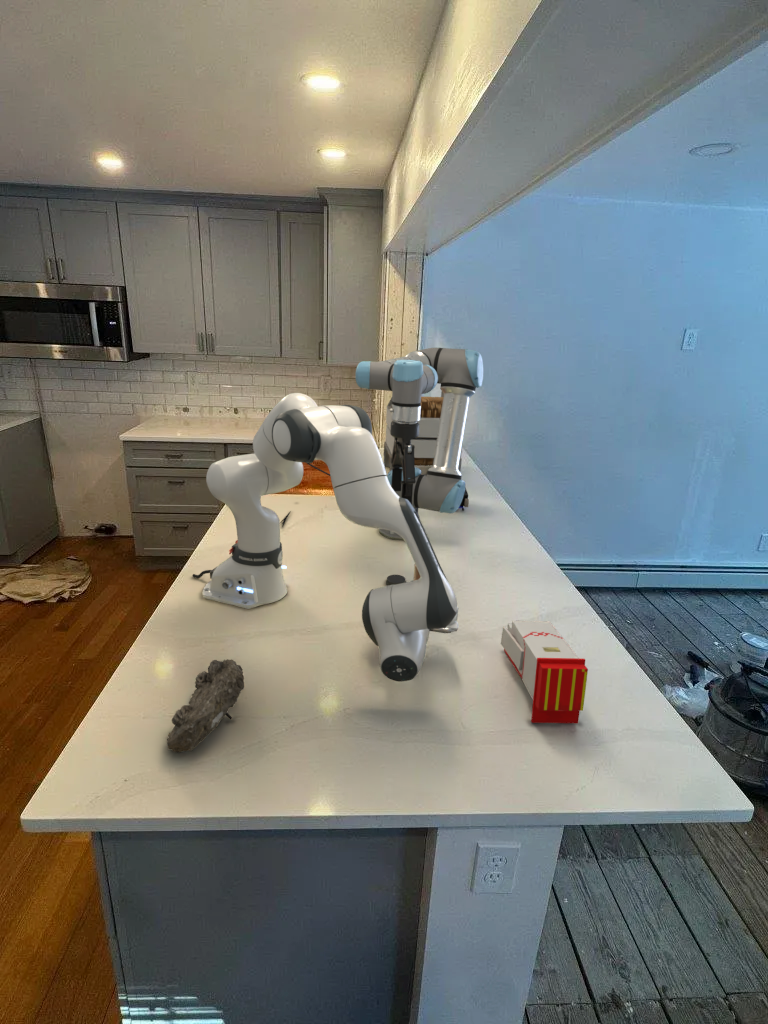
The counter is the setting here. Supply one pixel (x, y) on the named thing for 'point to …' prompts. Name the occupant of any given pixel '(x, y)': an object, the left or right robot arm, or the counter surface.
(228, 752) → the counter surface
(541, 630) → the toy
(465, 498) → the figurine character
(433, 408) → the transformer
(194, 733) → the fossil
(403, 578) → the lid
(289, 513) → the feather
